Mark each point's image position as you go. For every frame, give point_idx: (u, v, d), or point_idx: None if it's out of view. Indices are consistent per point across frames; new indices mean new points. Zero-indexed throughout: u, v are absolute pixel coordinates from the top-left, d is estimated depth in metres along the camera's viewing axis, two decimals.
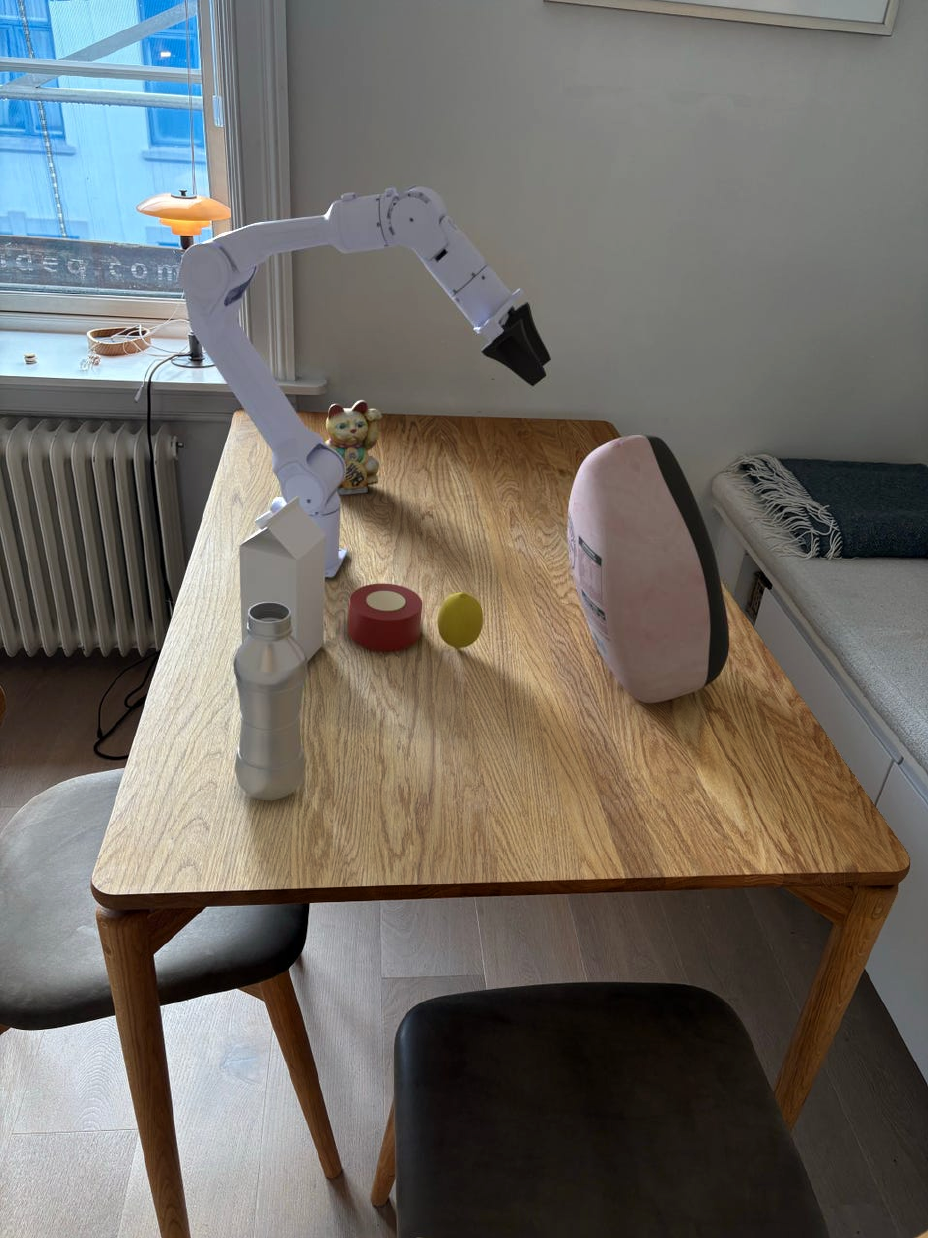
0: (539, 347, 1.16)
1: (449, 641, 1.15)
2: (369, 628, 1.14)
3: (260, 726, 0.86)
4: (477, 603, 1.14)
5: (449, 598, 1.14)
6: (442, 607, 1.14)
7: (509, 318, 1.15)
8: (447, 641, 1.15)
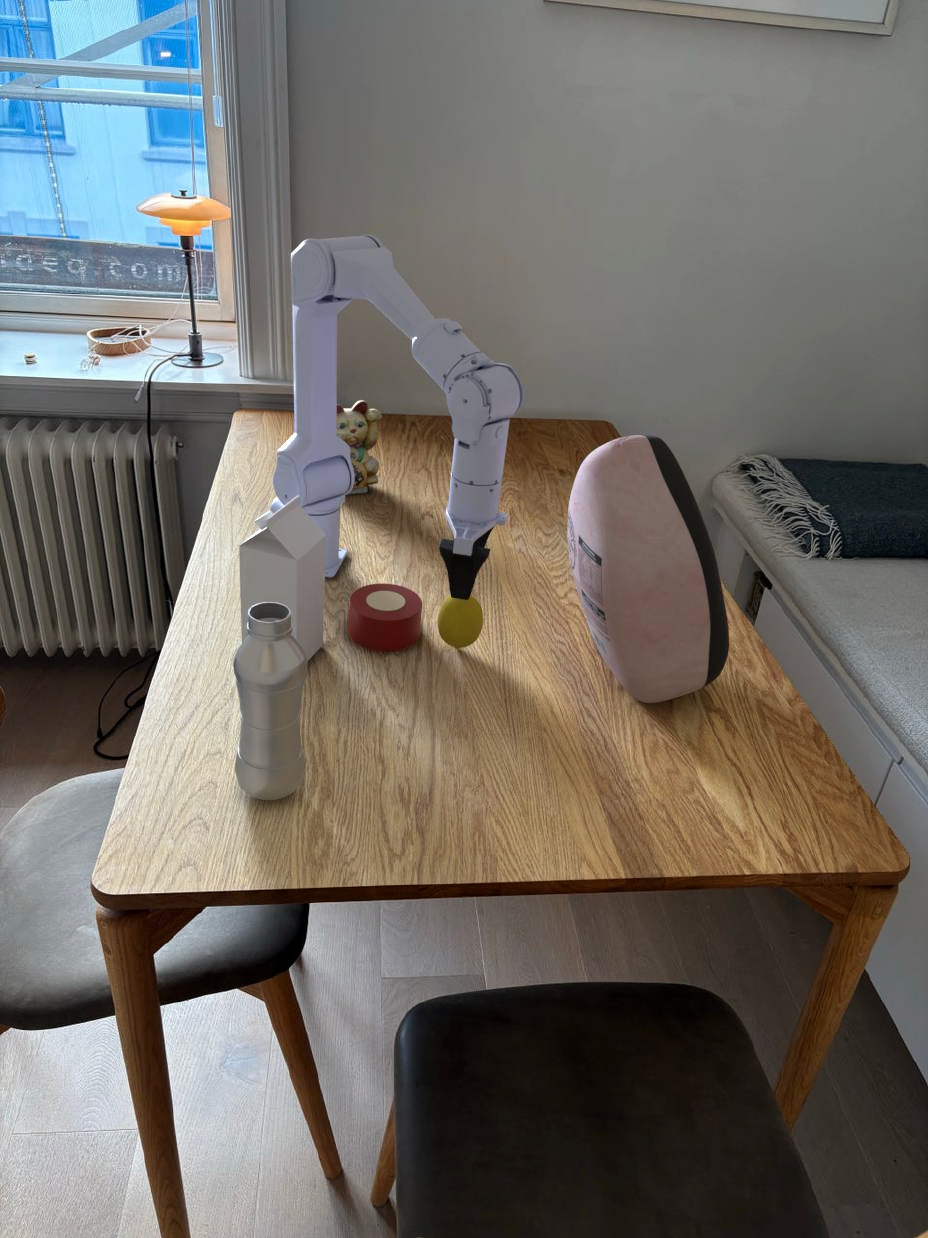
0: None
1: (449, 641, 1.15)
2: (369, 628, 1.14)
3: (260, 726, 0.86)
4: (477, 603, 1.14)
5: (449, 598, 1.14)
6: (442, 607, 1.14)
7: None
8: (447, 641, 1.15)
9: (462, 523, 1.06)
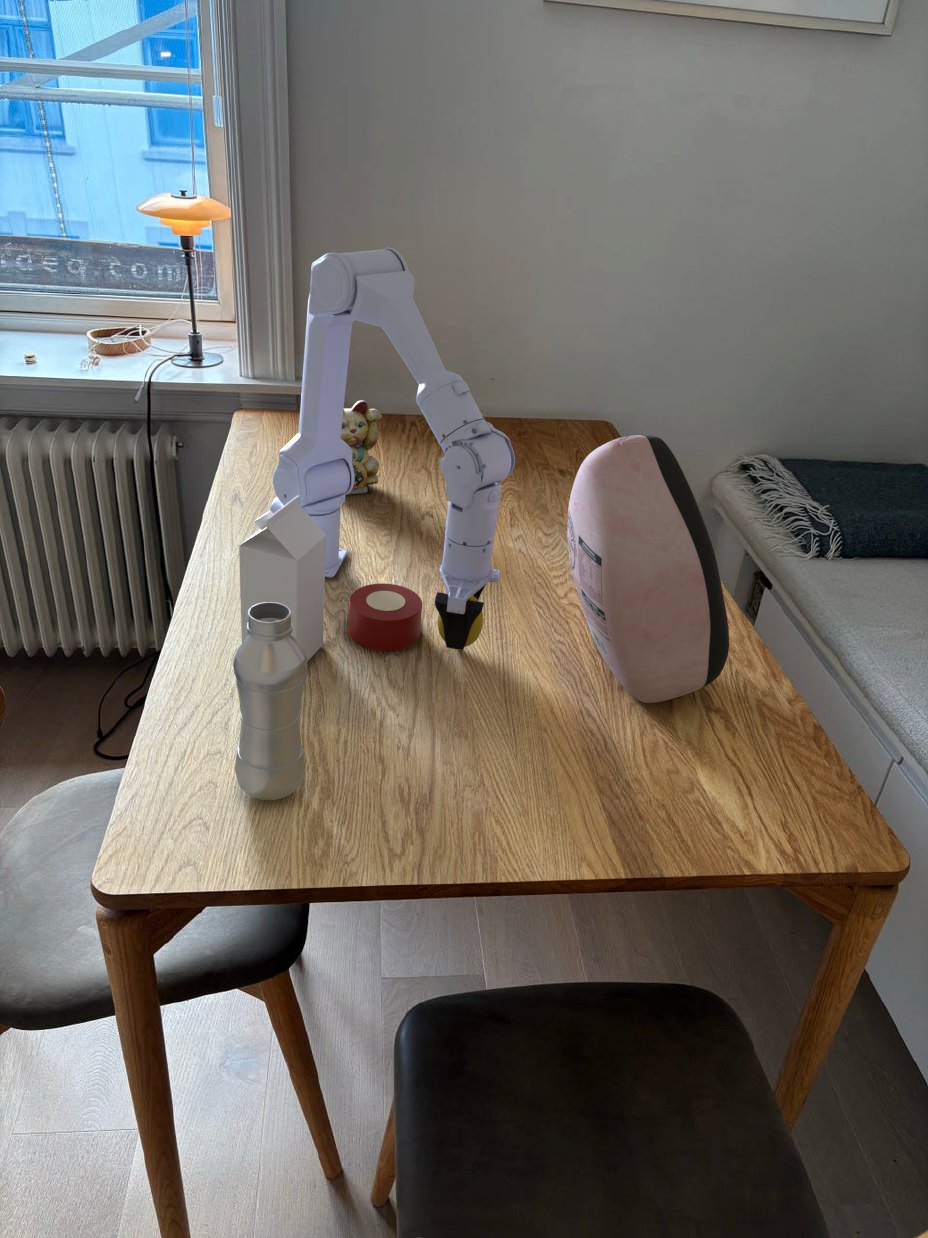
0: None
1: None
2: (369, 628, 1.14)
3: (260, 726, 0.86)
4: None
5: None
6: None
7: None
8: None
9: (456, 581, 1.10)
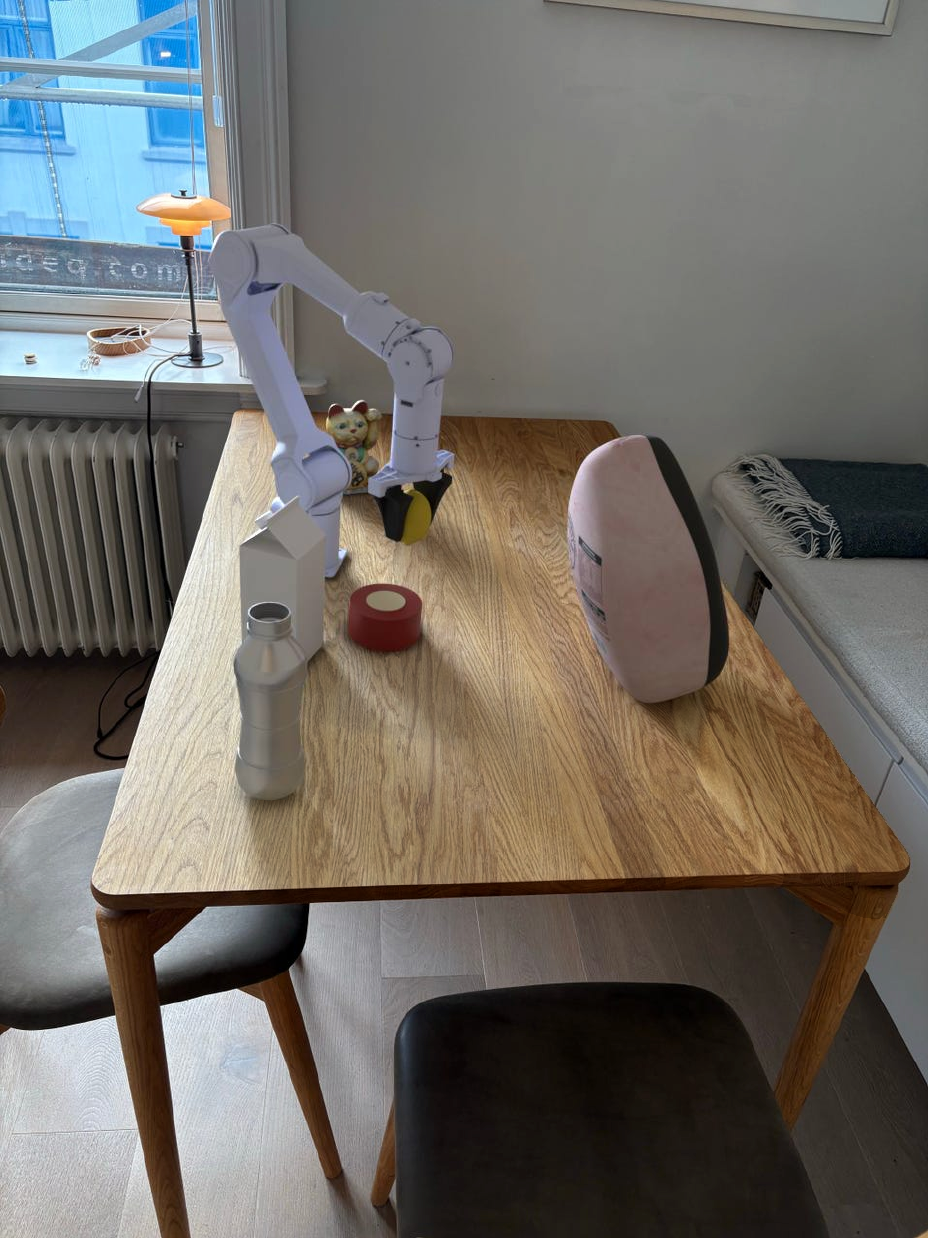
0: None
1: None
2: (369, 628, 1.14)
3: (260, 726, 0.86)
4: (422, 502, 1.20)
5: None
6: None
7: None
8: None
9: (393, 471, 1.16)
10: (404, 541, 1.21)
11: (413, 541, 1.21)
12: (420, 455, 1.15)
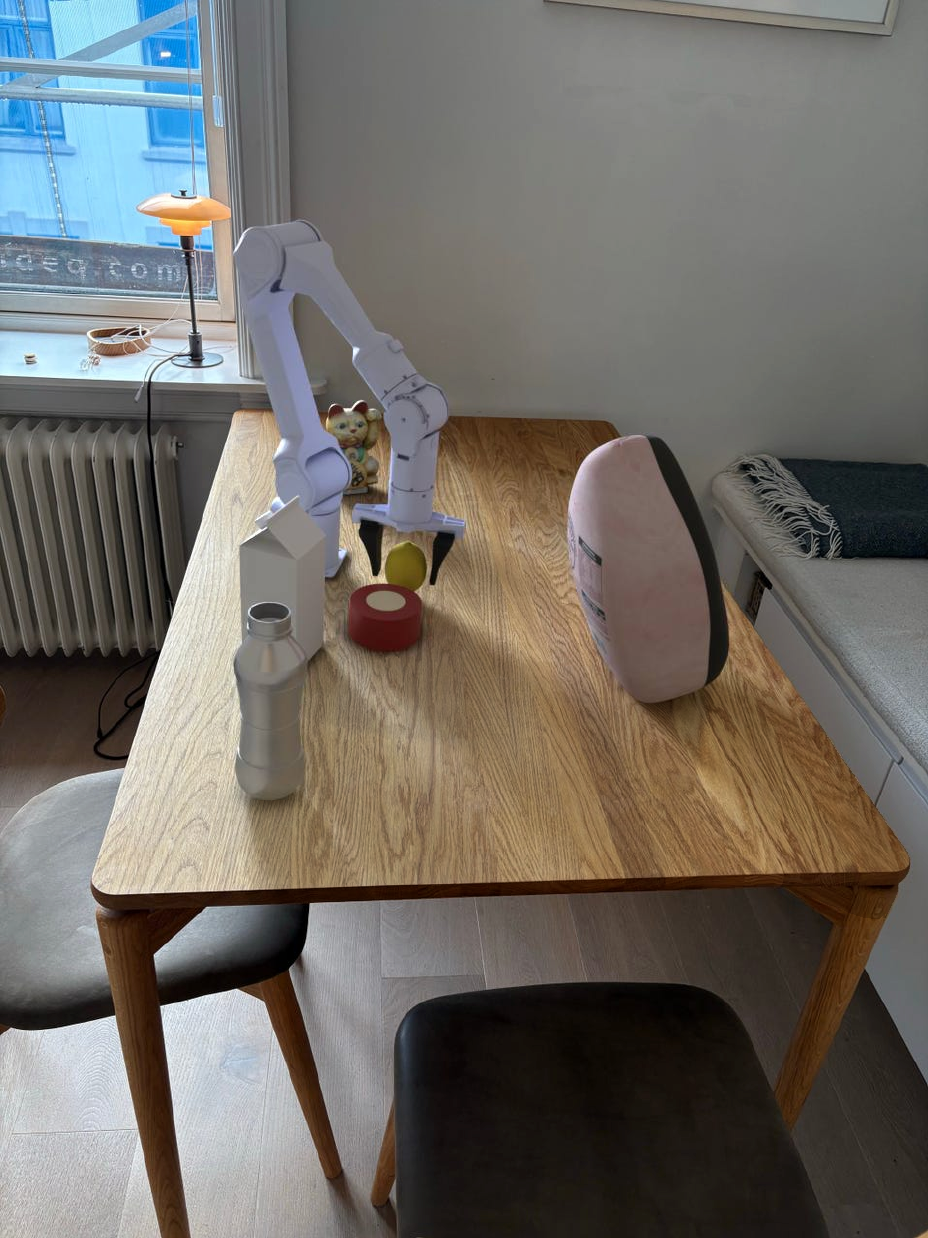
0: None
1: None
2: (369, 628, 1.14)
3: (260, 726, 0.86)
4: (404, 555, 1.23)
5: None
6: None
7: (437, 534, 1.22)
8: None
9: (387, 510, 1.23)
10: None
11: None
12: (394, 502, 1.18)
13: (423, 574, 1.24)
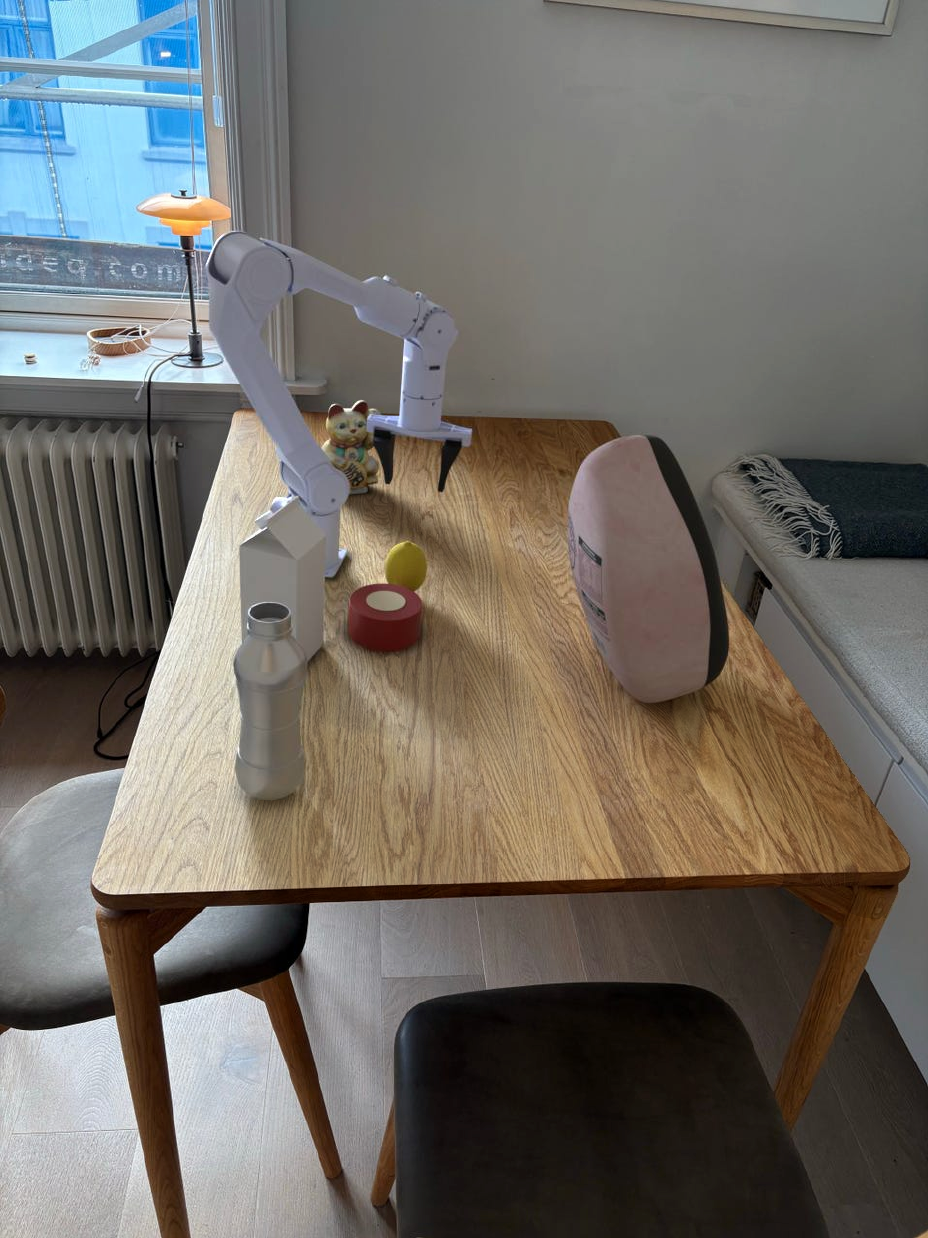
0: (392, 466, 1.36)
1: None
2: (369, 628, 1.14)
3: (260, 726, 0.86)
4: (404, 555, 1.23)
5: None
6: None
7: (391, 434, 1.33)
8: None
9: (439, 430, 1.30)
10: None
11: None
12: None
13: (423, 574, 1.24)
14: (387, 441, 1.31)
